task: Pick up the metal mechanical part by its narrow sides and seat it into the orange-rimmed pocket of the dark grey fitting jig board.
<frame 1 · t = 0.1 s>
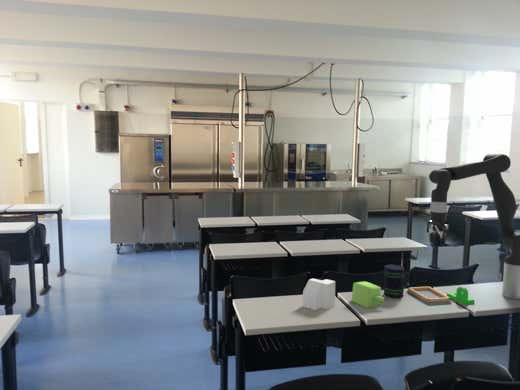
hand: (436, 243, 204), 29 cm above the table, fingers open, 8 cm apart
fitting jig: (428, 297, 213), on the table
gearbox: (368, 304, 204), on the table
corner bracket: (318, 306, 200), on the table
storage jar: (393, 295, 216), on the table
mechanical part: (460, 300, 210), on the table
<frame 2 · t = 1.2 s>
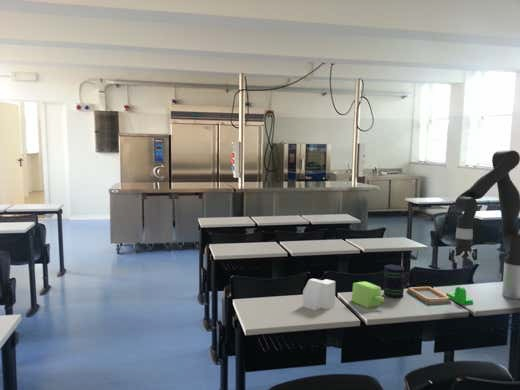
hand: (462, 269, 208), 16 cm above the table, fingers open, 8 cm apart
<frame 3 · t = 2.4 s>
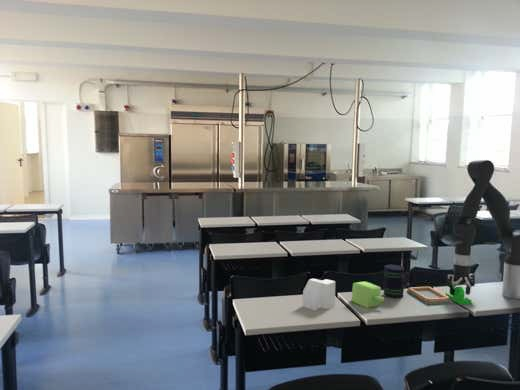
hand: (459, 294, 210), 3 cm above the table, fingers open, 8 cm apart
mechanical part: (458, 300, 210), on the table, touching gripper
everything else where it was.
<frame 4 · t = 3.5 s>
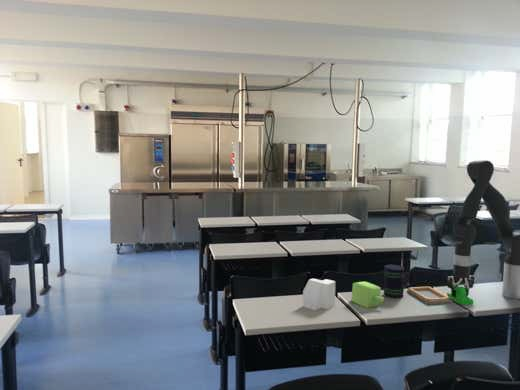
hand: (459, 296, 209), 2 cm above the table, fingers closed on mechanical part, 6 cm apart
mechanical part: (459, 300, 209), on the table, touching gripper
everything else where it was.
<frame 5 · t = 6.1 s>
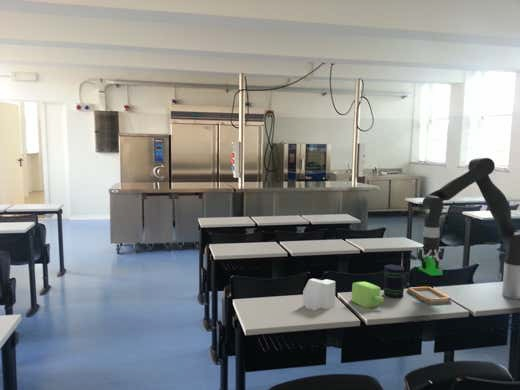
hand: (429, 268, 212), 15 cm above the table, fingers closed on mechanical part, 6 cm apart
mechanical part: (430, 272, 212), point 13 cm above the table, touching gripper
everything else where it was.
when the fingers open (4 cm above the table, at t = 9.0 s): mechanical part drops 1 cm, resting on fitting jig.
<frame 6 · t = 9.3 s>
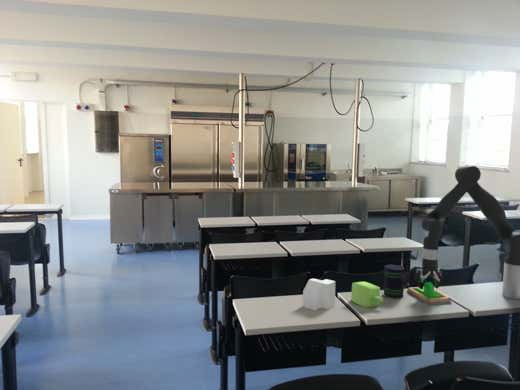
hand: (428, 288, 213), 5 cm above the table, fingers open, 8 cm apart
mechanical part: (428, 295, 213), point 1 cm above the table, touching fitting jig
everything else where it was.
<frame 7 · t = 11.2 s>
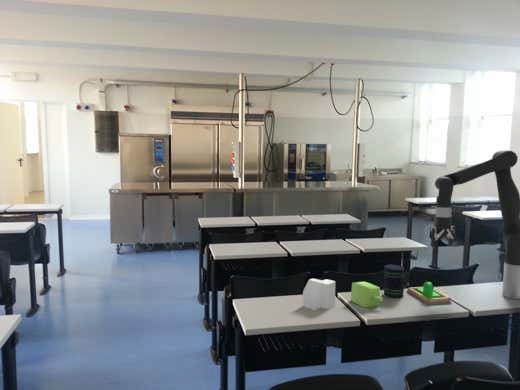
hand: (442, 246, 218), 25 cm above the table, fingers open, 8 cm apart
nothing on the table moved.
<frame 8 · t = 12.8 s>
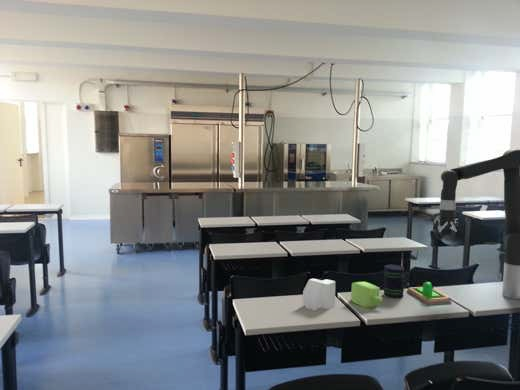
hand: (445, 238, 221), 28 cm above the table, fingers open, 8 cm apart
nothing on the table moved.
at the end: mechanical part 0.5 cm off-centre on the fitting jig, point 0.8 cm above the fitting jig's base; mechanical part tilted 0°; the gripper is holding nothing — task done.
